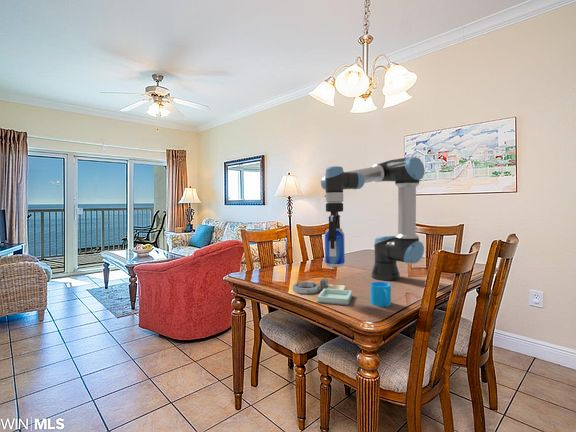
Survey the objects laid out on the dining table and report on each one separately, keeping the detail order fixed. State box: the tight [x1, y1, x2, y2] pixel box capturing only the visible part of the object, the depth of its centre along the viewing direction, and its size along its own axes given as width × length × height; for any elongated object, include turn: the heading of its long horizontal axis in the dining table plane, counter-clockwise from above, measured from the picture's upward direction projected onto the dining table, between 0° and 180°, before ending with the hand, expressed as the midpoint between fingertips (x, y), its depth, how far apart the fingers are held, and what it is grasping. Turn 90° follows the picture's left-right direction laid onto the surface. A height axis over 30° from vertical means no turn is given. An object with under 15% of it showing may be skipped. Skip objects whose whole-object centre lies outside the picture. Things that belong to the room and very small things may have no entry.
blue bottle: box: [324, 228, 346, 268], centre depth 136 cm, size 8×8×16 cm
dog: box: [319, 278, 329, 292], centre depth 151 cm, size 3×4×5 cm
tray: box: [316, 288, 353, 306], centre depth 138 cm, size 13×13×2 cm
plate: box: [327, 284, 346, 290], centre depth 149 cm, size 8×8×2 cm
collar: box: [292, 281, 320, 295], centre depth 152 cm, size 12×12×2 cm
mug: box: [370, 281, 392, 307], centre depth 129 cm, size 12×8×8 cm
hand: (334, 254), depth 137 cm, fingers closed on blue bottle, 8 cm apart
